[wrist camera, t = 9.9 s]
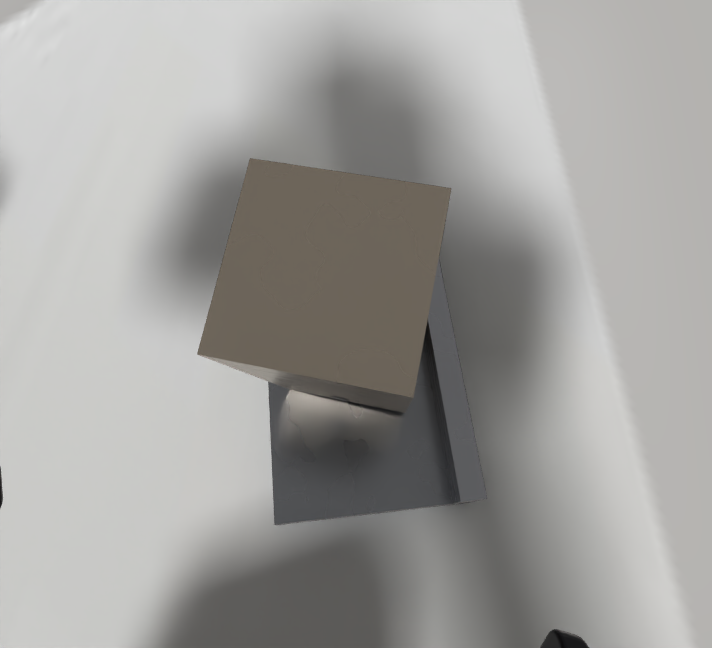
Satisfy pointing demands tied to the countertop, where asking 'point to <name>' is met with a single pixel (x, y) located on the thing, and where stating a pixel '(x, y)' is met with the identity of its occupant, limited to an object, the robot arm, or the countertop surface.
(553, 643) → the robot arm
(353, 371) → the block
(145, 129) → the countertop surface
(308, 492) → the plate
